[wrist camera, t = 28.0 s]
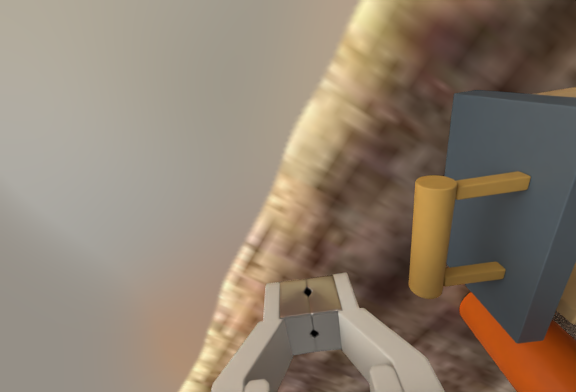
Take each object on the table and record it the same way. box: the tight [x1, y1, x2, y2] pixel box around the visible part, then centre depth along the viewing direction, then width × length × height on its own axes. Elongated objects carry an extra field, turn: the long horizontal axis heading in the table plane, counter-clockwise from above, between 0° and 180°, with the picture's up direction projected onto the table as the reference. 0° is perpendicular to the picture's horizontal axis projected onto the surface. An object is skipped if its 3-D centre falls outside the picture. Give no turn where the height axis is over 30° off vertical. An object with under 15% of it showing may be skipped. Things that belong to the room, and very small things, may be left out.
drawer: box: [409, 87, 576, 344], centre depth 12 cm, size 16×10×7 cm, turn 99°
